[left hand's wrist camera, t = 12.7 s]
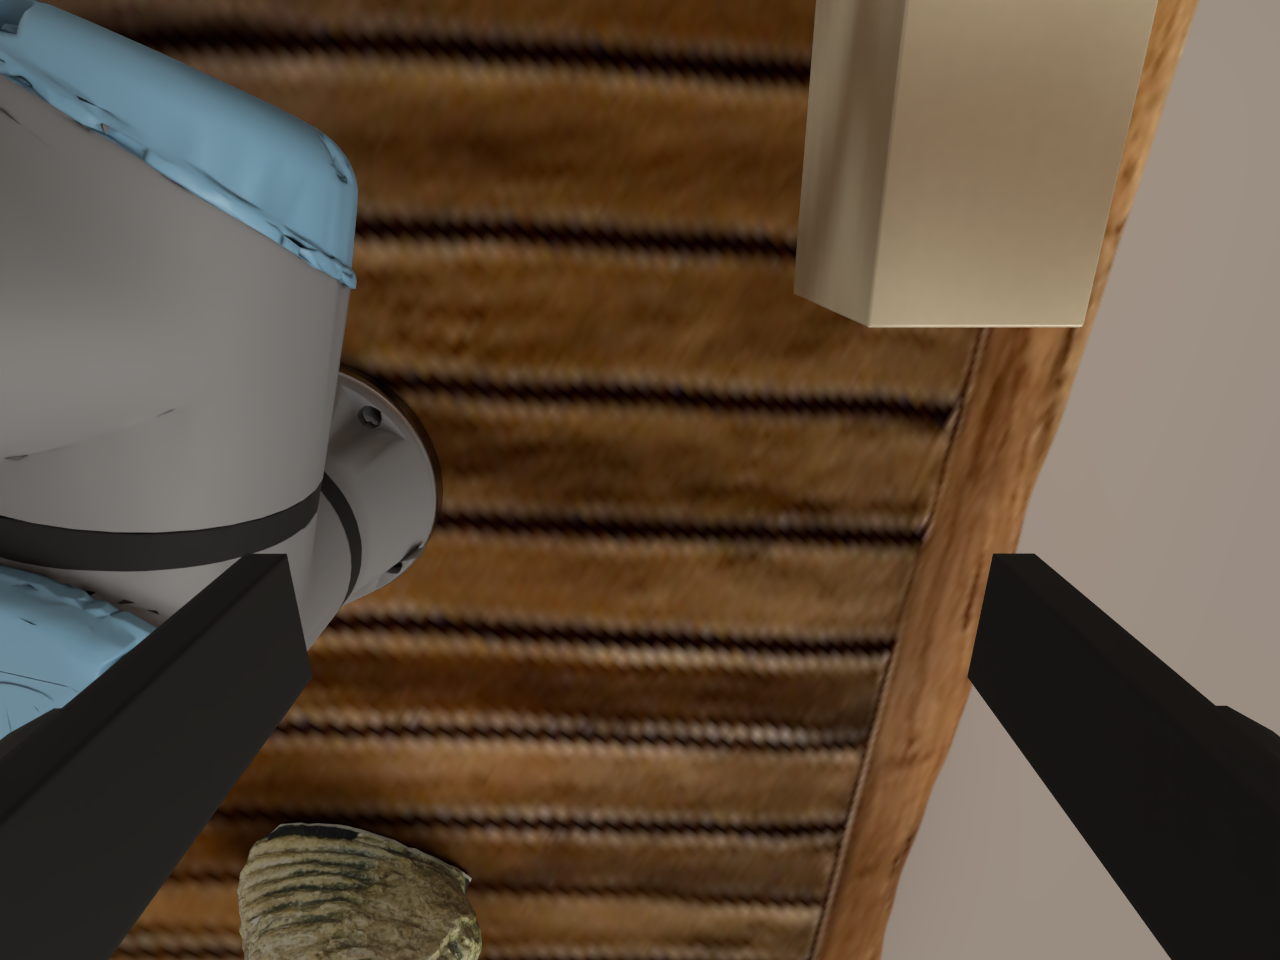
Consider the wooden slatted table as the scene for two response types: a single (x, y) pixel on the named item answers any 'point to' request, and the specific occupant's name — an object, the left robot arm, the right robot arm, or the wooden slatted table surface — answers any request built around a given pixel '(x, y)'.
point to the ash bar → (964, 157)
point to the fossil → (351, 899)
